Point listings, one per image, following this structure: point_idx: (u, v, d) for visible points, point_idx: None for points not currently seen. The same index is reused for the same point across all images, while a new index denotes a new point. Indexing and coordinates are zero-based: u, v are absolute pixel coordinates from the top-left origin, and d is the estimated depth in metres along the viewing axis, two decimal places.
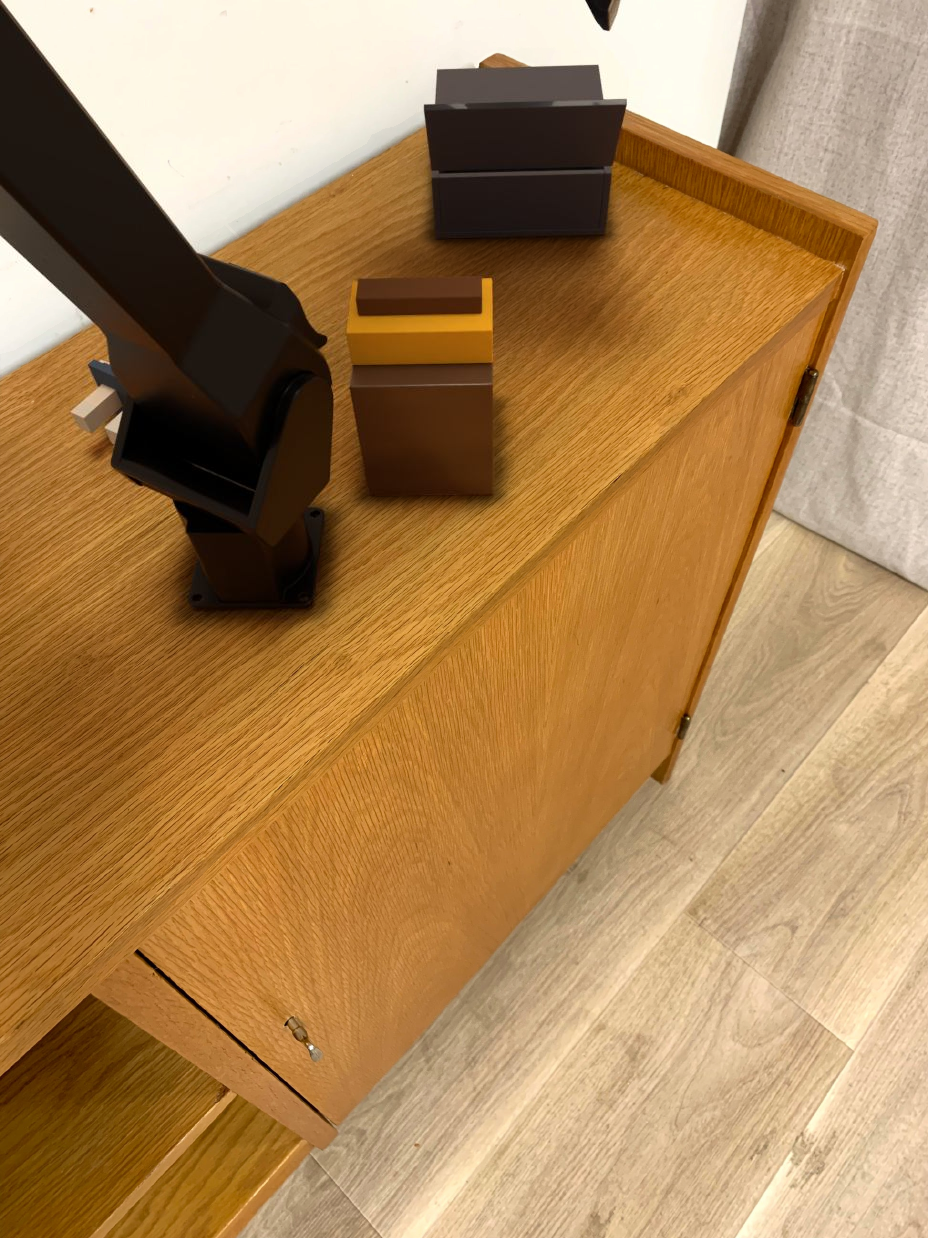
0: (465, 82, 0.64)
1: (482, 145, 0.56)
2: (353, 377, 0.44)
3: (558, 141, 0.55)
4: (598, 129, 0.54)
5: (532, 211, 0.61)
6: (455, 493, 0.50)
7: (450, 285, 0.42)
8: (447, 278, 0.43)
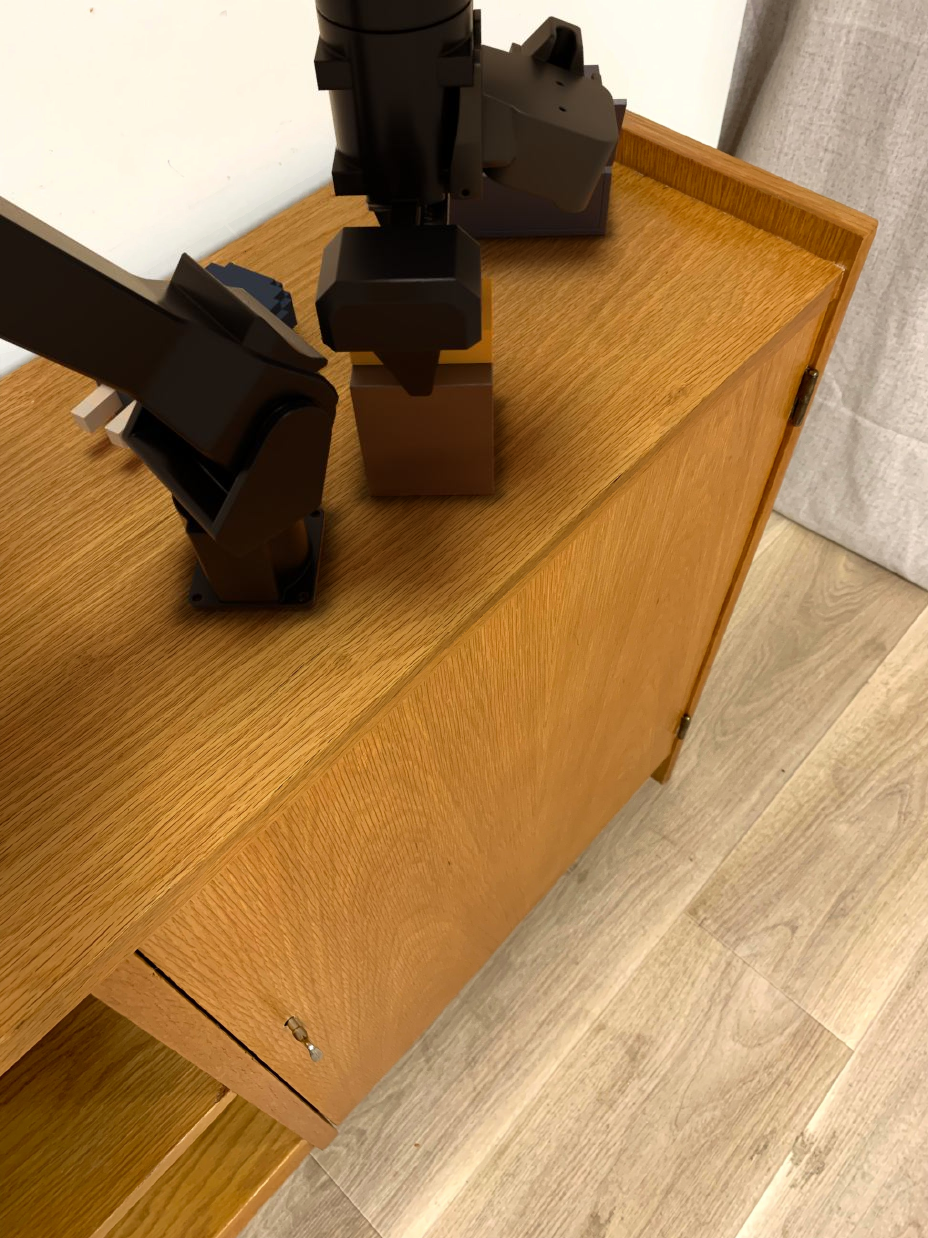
0: None
1: None
2: (353, 377, 0.44)
3: None
4: None
5: (532, 211, 0.61)
6: (455, 493, 0.50)
7: None
8: None
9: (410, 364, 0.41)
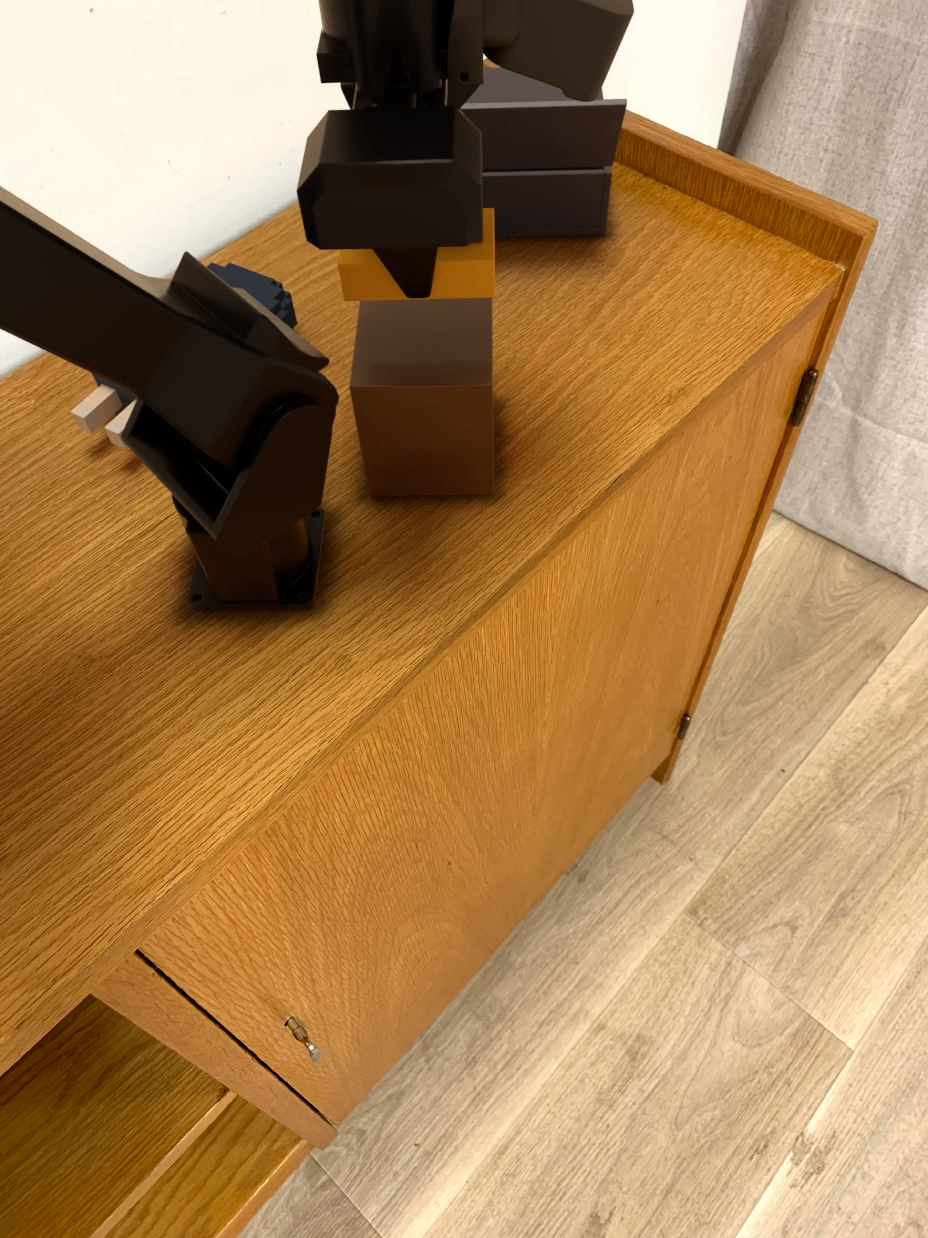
0: None
1: (482, 145, 0.56)
2: (353, 377, 0.44)
3: (558, 141, 0.55)
4: (598, 129, 0.54)
5: (532, 211, 0.61)
6: (455, 493, 0.50)
7: None
8: None
9: (406, 258, 0.38)
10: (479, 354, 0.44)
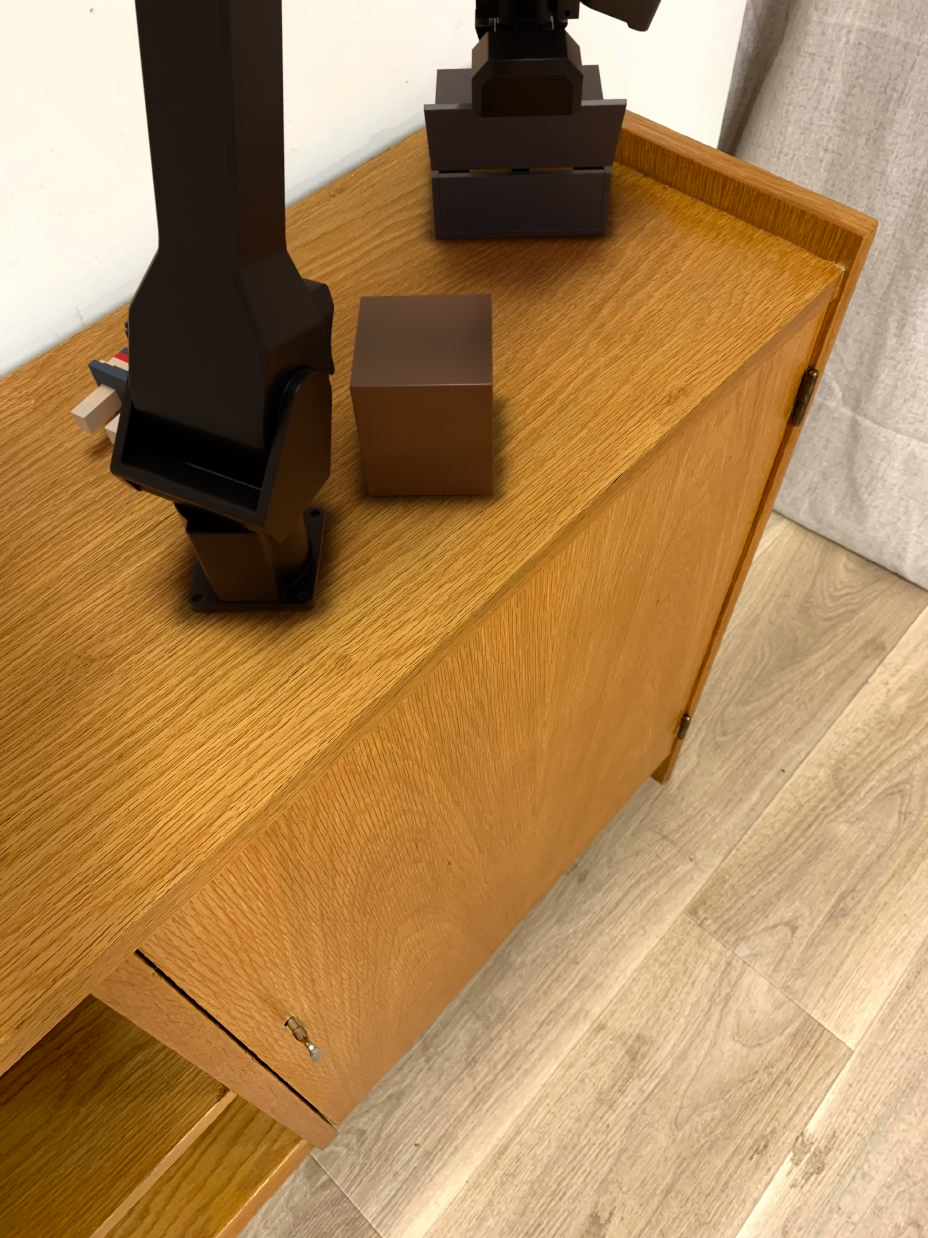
0: (465, 82, 0.64)
1: (482, 145, 0.56)
2: (353, 377, 0.44)
3: (558, 141, 0.55)
4: (598, 129, 0.54)
5: (532, 211, 0.61)
6: (455, 493, 0.50)
7: None
8: None
9: None
10: (479, 354, 0.44)
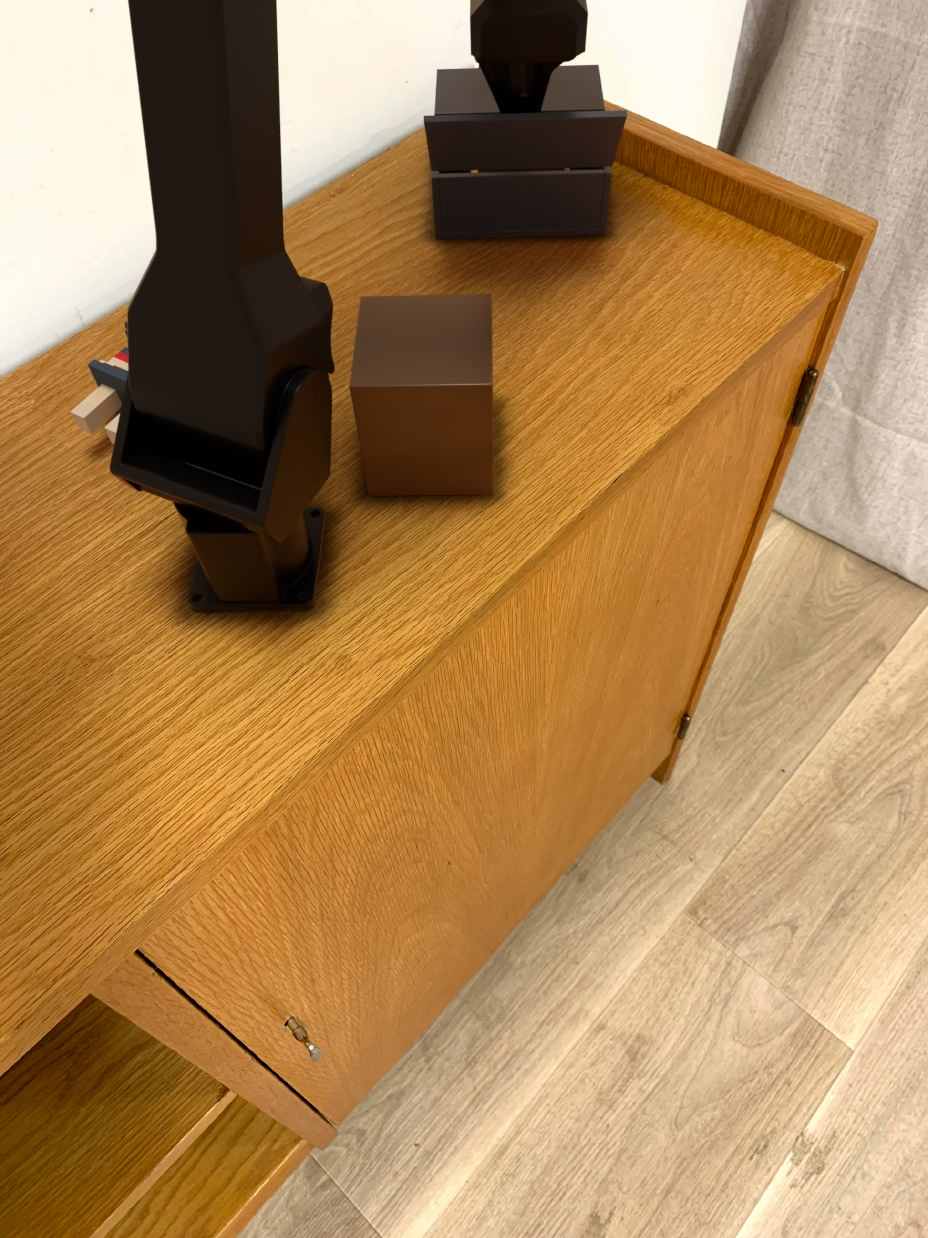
0: (465, 82, 0.64)
1: (482, 150, 0.56)
2: (353, 377, 0.44)
3: (558, 147, 0.56)
4: (598, 136, 0.54)
5: (532, 211, 0.61)
6: (455, 493, 0.50)
7: None
8: None
9: (519, 111, 0.54)
10: (479, 354, 0.44)
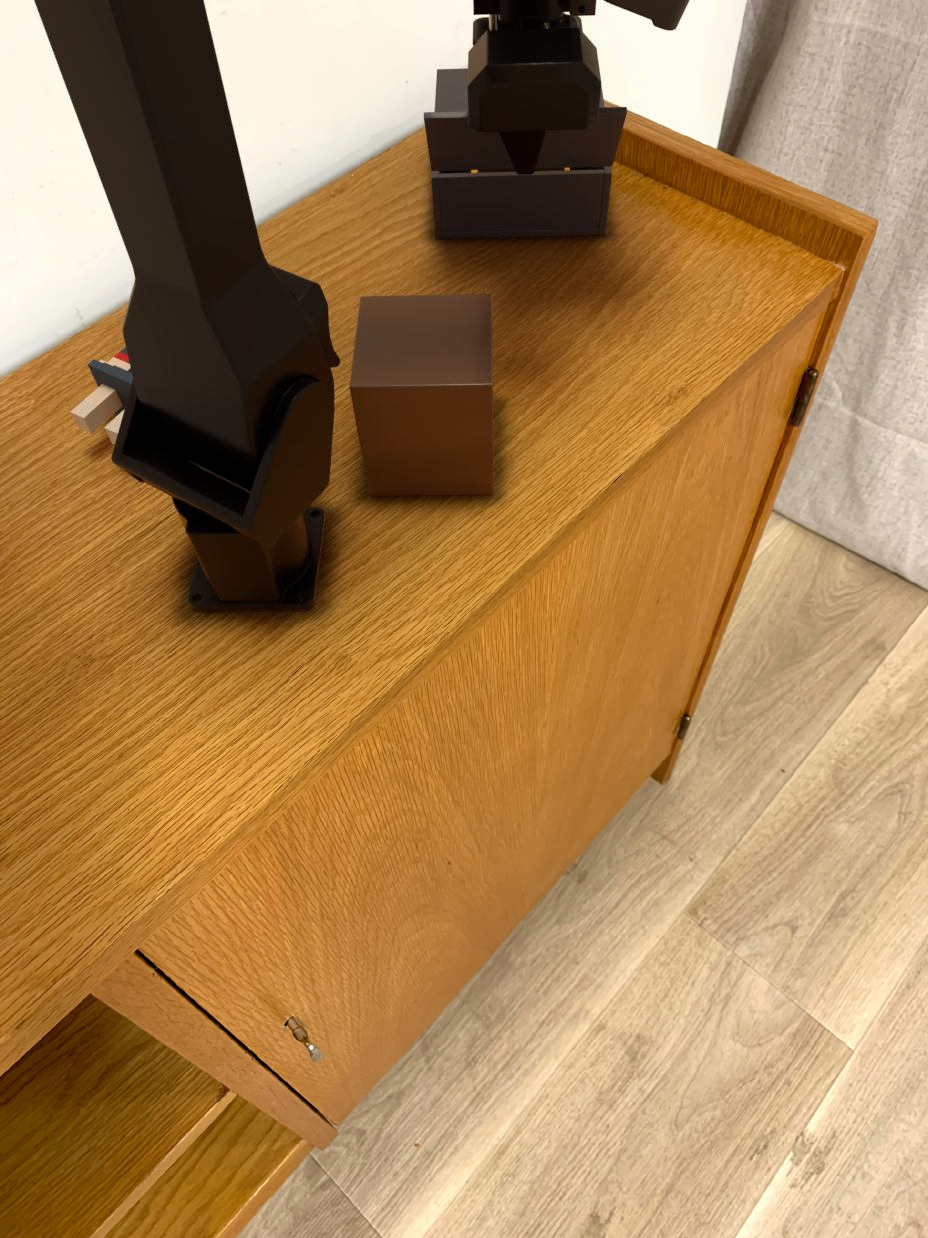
0: (465, 82, 0.64)
1: (482, 148, 0.56)
2: (353, 377, 0.44)
3: (558, 145, 0.55)
4: (598, 134, 0.54)
5: (532, 211, 0.61)
6: (455, 493, 0.50)
7: None
8: None
9: (522, 137, 0.51)
10: (479, 354, 0.44)
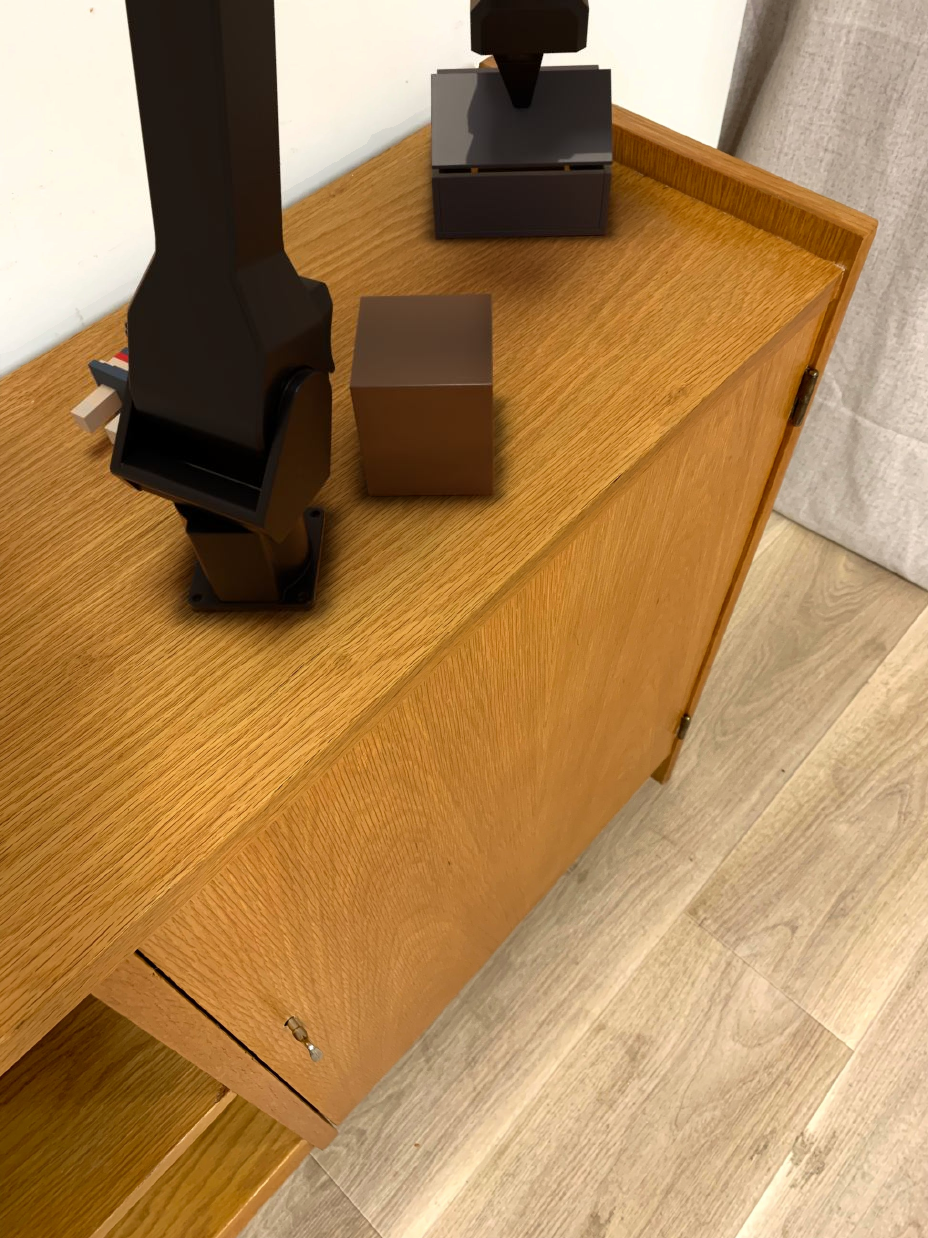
0: None
1: (483, 124, 0.59)
2: (353, 377, 0.44)
3: (555, 120, 0.58)
4: (590, 101, 0.58)
5: (532, 211, 0.61)
6: (455, 493, 0.50)
7: None
8: None
9: (519, 71, 0.56)
10: (479, 354, 0.44)
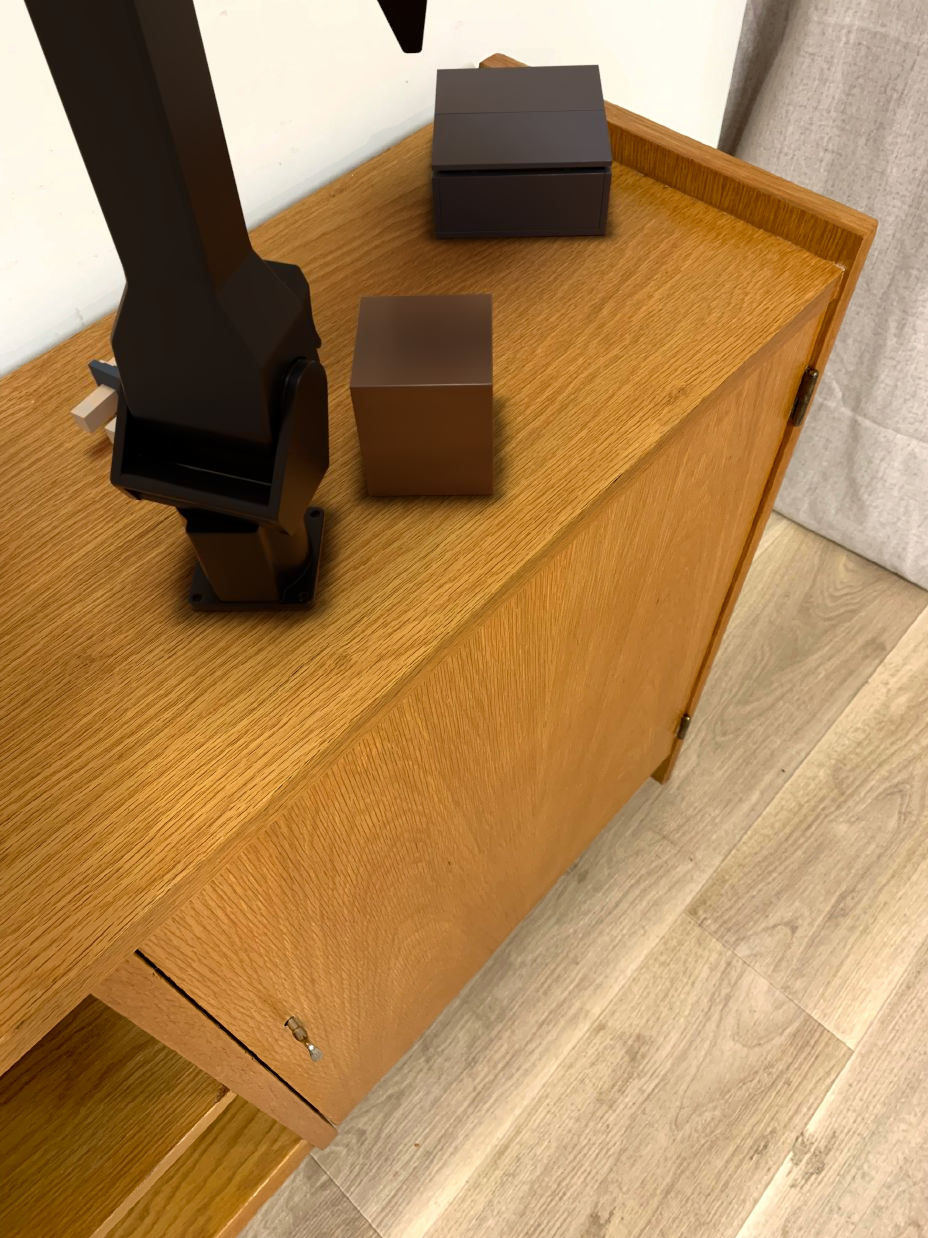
0: (465, 82, 0.64)
1: (483, 141, 0.60)
2: (353, 377, 0.44)
3: (553, 138, 0.60)
4: (587, 127, 0.60)
5: (532, 211, 0.61)
6: (455, 493, 0.50)
7: None
8: None
9: (403, 8, 0.48)
10: (479, 354, 0.44)
